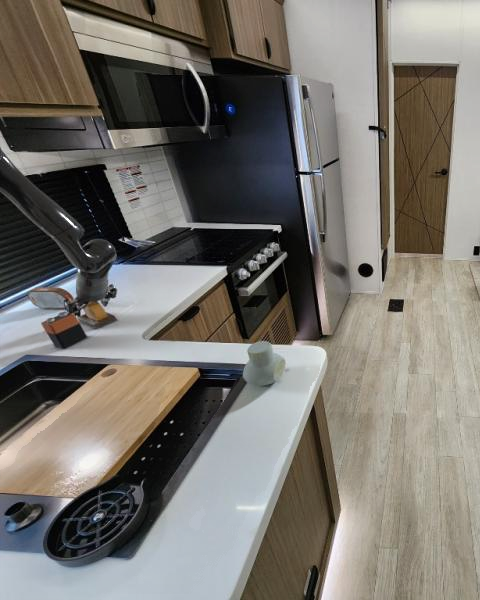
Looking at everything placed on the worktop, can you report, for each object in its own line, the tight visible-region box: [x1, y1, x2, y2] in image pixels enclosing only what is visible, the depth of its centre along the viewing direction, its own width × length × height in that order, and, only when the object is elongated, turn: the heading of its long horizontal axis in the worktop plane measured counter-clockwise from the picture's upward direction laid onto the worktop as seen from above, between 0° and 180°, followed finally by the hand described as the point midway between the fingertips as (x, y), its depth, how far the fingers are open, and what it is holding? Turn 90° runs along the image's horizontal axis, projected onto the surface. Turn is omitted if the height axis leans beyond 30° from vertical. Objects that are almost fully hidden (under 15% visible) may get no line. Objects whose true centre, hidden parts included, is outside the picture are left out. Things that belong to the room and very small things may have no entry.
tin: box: [26, 286, 75, 310], centre depth 125 cm, size 15×3×8 cm, turn 88°
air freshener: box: [242, 340, 286, 387], centre depth 86 cm, size 11×8×10 cm
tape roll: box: [82, 301, 107, 322], centre depth 115 cm, size 3×8×8 cm, turn 63°
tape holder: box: [76, 311, 118, 330], centre depth 117 cm, size 6×12×2 cm, turn 63°
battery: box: [40, 310, 88, 350], centre depth 103 cm, size 4×7×10 cm, turn 163°
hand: (90, 309), depth 116 cm, fingers open, 7 cm apart
